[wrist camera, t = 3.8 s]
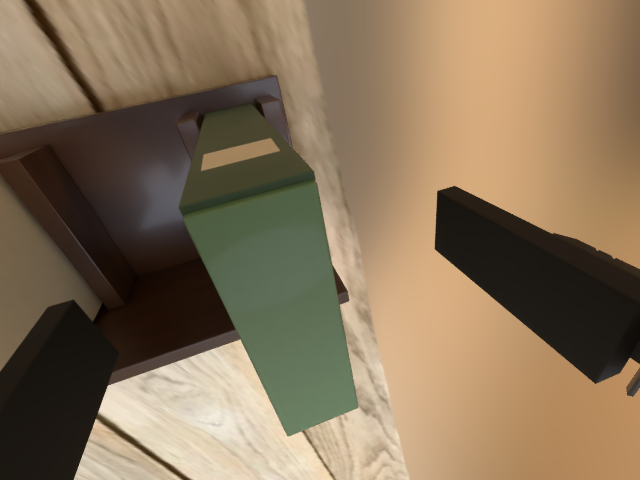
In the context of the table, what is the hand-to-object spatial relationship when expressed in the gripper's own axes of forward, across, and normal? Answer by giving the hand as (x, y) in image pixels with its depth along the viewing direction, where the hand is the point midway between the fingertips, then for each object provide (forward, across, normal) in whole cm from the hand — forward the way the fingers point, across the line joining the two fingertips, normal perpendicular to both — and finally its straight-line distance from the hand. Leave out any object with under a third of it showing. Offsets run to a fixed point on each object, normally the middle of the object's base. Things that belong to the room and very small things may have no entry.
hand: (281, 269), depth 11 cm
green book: (+10, 0, 0) cm, 10 cm away
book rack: (+12, -6, 0) cm, 13 cm away
